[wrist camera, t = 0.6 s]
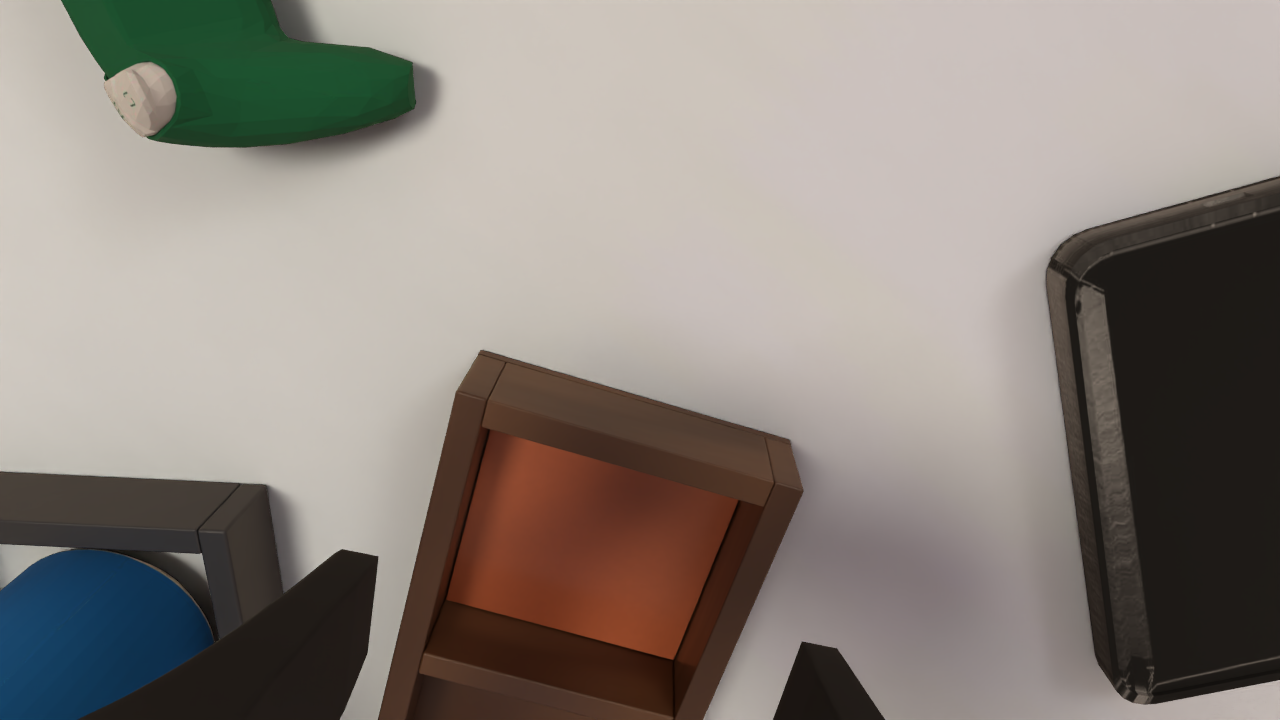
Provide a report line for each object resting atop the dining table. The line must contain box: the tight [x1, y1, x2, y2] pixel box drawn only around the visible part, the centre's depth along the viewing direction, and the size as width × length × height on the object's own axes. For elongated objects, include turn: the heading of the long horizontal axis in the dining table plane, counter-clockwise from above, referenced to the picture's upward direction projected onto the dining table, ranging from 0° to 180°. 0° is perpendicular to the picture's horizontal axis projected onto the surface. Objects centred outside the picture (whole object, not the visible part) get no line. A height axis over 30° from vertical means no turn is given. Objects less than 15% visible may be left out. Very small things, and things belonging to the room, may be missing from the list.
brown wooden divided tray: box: [378, 350, 803, 720], centre depth 25 cm, size 9×17×3 cm, turn 163°
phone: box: [1047, 176, 1280, 705], centre depth 22 cm, size 8×1×15 cm
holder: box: [0, 472, 283, 639], centre depth 25 cm, size 11×11×2 cm
